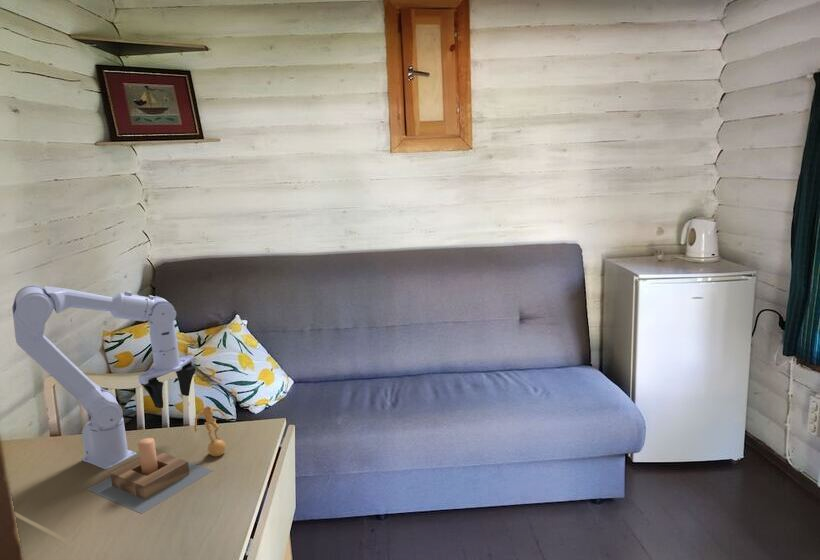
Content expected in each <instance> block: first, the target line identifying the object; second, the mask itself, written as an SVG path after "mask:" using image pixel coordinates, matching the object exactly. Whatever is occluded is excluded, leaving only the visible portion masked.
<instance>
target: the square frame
mask: <svg viewBox="0 0 820 560" xmlns="http://www.w3.org/2000/svg"><path fill="white" fill-rule="evenodd" d="M156 457H157V464H158V470H157V471H155V472H153V473H151V474H150V475H148V476H146V475H143V474H142V469H141V462H140V457H138V458H136V459H135V460H132V461H131V462H129V463H127V464H125V465H123V466H121V467H118V468H117V469H115V470H113V471H111V472H110V473H109V474H110V477H111V481H112V486H114V487H117V488H119V489H121V490H124V491H126V492H128V493H131V494H133V495H136V496H138V497H140V498H143V499H145V500H146V499H148V498H149V497H151V496H153V495H154V494H156V493H158V492H160V491H161V490H163V489H165V488H166V487H168V486H170V485H172V484H173V483H175V482H177V481H178V480H180V479H182V478H184V477H185V476H187V475H189V466H188V462H189V461H187V460H185V459H182V458H179V457H176V456H174V455H170V454H167V453H164V452H162V451H159V450H156Z"/></svg>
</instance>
